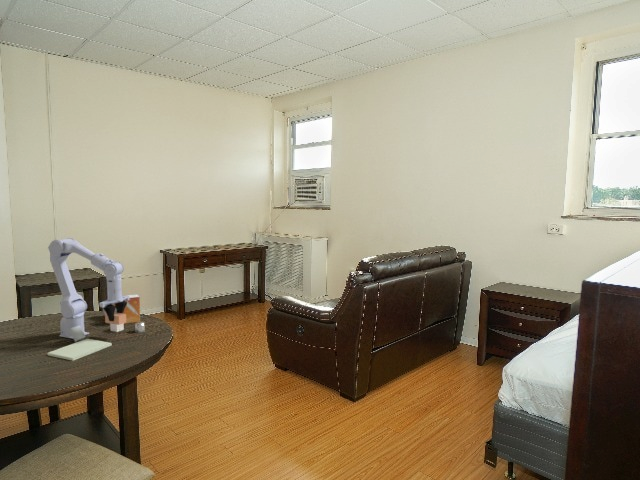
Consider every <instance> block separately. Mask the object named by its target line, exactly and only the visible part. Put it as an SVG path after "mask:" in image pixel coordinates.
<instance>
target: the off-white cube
mask: <svg viewBox="0 0 640 480" xmlns="http://www.w3.org/2000/svg"><path fill="white" fill-rule="evenodd" d="M109 325H110V326H109V327H110V332H116V333H119V332H121V331H124V330H125V328H124V327H125V326H124V325H125V324H124V323H123V324H120V325H117V324H110V323H109Z"/></svg>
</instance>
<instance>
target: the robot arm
mask: <svg viewBox="0 0 640 480" xmlns="http://www.w3.org/2000/svg"><path fill="white" fill-rule="evenodd" d="M47 249H48V251H49V261H50V264H51V267H52V270H53V272H54V273H53V274H54V276H55V278H56V281H57V285H58V287H59V290H60V292H61V296H62V299H61V301H60V303H59V305H60V313H61V315H62V316H63V317H61V319H60V322H59V323H60V324H59V325H60V334H59V335H58V336H59V337H61V338H62V337H63V338H67V339H72V340H74V339H73V337H72V335H71V334H70V332H69V330H70V329H71V328H73V327H76V326H80V327H81V329H82V331H83V333H84V334H85V336H87V335H89V334H90V332H87V331H85V318H84V317H85V316H84V315H85V312H86V311H87V309H88V304H87V302H86V300H84V298H83V296H82V295H80V294H79V293H78V291H77V290H76V288H75V285H74V281H73V277H72V276H71V273H70V270H69V267H68V264H67V262H66V260H67V259H68V258H69V256H70V255H72V254H74V253H75V254H77V255H78V256H81V257H82V258H85V259H86V260H88V261H90V264H91V265H92V266H94V267H96V268H97V269H99V270H101V271H102V272H103V273H104V275H105V280H106V287H107V289H106V290H107V299H106V300H103V301H101V302H99V307H100V308H102V307H103V309H104V310H105V311H106V313H107V316H108V318H109V321H114V311H115V308H116V310H117V313H122V314H123V312H124V309H125V307H126V305H127V302H125V301H126V300H129V296H127V295H123V291H122V289H123V287H122V286H123V285H122V273H123V272H124V270H125V268H124V265H123V263H121V261H117V260H116V261H114V260H113V259H112V258H111V259H110V258H109V257H107V256H105V254H104V253H94V252H93V251H92V250H90V249H88V248H87V247H85V246H84V245H82V244H81V243H80V241H78V240H76V239H74V238H73V237H68V238H61V239H54V240H52V241H51V242H50V243H49V245H48V247H47ZM112 304H115V306H113V305H112ZM103 309H102V310H103Z"/></svg>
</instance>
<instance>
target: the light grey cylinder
mask: <svg viewBox="0 0 640 480" xmlns="http://www.w3.org/2000/svg"><path fill="white" fill-rule="evenodd" d="M134 325H135V326H134V328H135V333H136V334H137V333H144V332H145V331H146V329H145V327H146V324H145V321H140V322H134Z"/></svg>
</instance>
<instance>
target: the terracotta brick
mask: <svg viewBox="0 0 640 480" xmlns="http://www.w3.org/2000/svg"><path fill="white" fill-rule="evenodd" d="M104 321H105V324H109V325H110V324H117V325H120V324H123V323H125V324H127V323H126V314H122V313H115V312H114V321H109V318H108V316H107V314H105V316H104Z"/></svg>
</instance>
